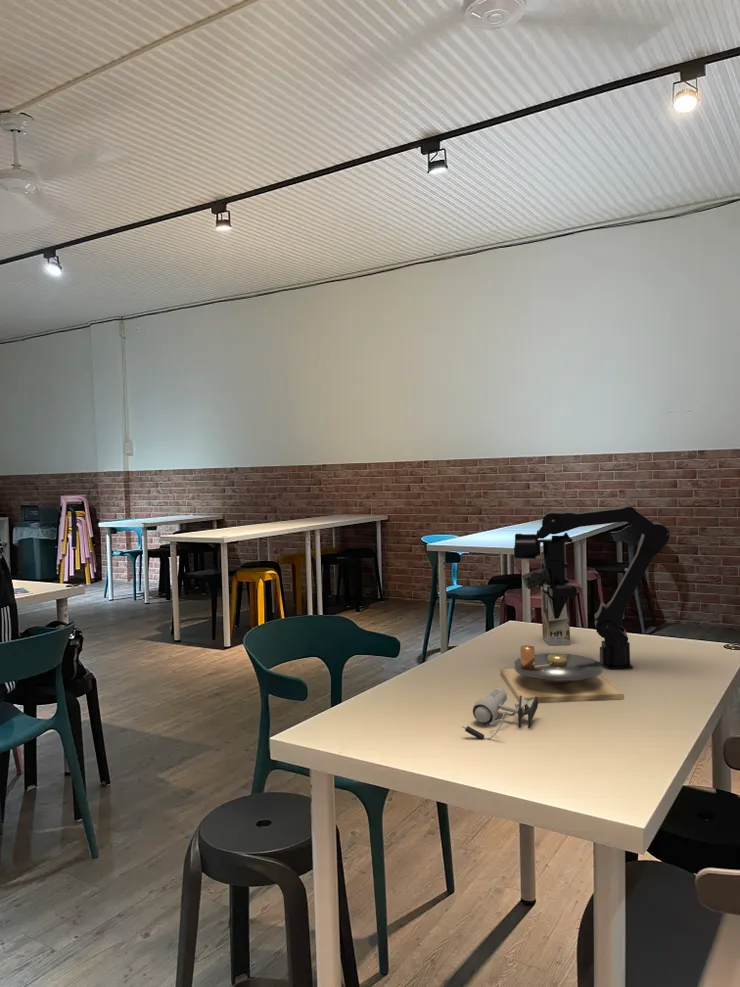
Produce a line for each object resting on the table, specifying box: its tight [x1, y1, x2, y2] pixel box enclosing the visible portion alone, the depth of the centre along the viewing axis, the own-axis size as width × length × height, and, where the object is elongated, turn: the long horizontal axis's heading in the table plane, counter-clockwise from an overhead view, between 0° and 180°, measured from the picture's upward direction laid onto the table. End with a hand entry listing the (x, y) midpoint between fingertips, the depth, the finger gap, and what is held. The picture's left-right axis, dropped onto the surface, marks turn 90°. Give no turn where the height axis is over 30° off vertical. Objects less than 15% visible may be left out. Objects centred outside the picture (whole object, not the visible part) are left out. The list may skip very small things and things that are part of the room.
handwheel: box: [514, 644, 603, 682], centre depth 173 cm, size 20×20×6 cm
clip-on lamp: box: [461, 687, 539, 740], centre depth 148 cm, size 12×6×18 cm
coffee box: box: [540, 586, 571, 646], centre depth 216 cm, size 9×6×16 cm
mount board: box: [499, 668, 625, 704], centre depth 173 cm, size 23×23×4 cm
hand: (556, 618), depth 192 cm, fingers closed
